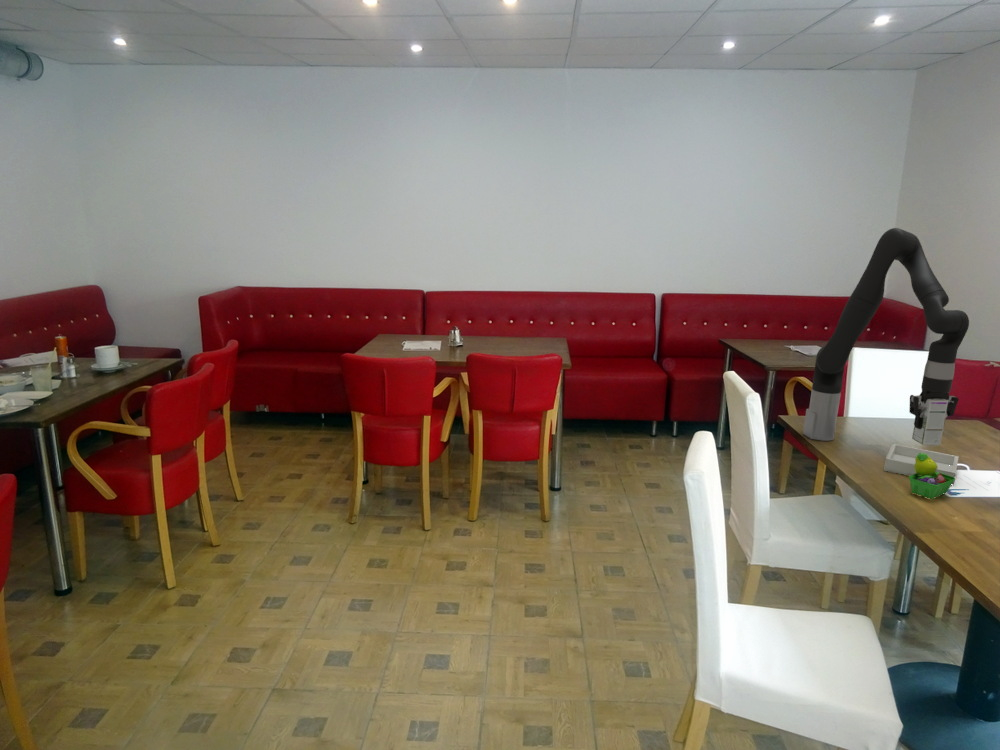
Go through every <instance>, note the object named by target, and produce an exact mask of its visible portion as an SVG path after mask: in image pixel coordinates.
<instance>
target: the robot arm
mask: <svg viewBox="0 0 1000 750" xmlns="http://www.w3.org/2000/svg"><path fill="white" fill-rule="evenodd" d="M894 261H899V262H900V264H901V265H902V266H903V267H904V268H905V270H906V271H907V272H908V275H909V277H910V285H911V288H912V291H913V293H914V295H915V297H916V298H917V300H918V301H919V303H920V305H921V307H922V309H923V314H924V318H925V322H926V326H927V328H928V329H929V330H930V331H931V332H932V333H934V334H937V335H942V336H941V337H940V339H937V340H935V341H932V342H931V343H930V345H929V348H928V354H927V360H926V363H925V366H924V369H923V370H924V372H923V375H922V382H921V392H920V394H919V395H914V394H911V395H910V396H909V413H910V414H911V415H914V417H915V418H914V422H913V424H914V425H913V427H914V426H915V427H916V428H917V429H922V424H923V416H924V414H925V411H926V409H927V407H925V408H924V407H922V406H921V403H920V404H919V402H920V399H921V401H922V403H923V402H924V403H926V401H927V400H928V399H935V398H939V399H945V400H948V405H947V411H946V416H945V420H947V419H946V418H948V417H953V416H954V414H955V411H956V408H957V405H958V402H959V397H957V396H954V395H950V394H949V393H951V390H952V385H953V381H954V376H955V370H956V369H955V365H956V359H957V354H958V350H959V347H960V346H961V344H962V342H963V340H964V338H965V336H966V334H967V332H968V330H969V326H970V320H969V319H970V318H969V316H968V314H967V313H966V312H965V311H963V310H959V309H957V310H956V309H951V310H949V309H947V310H946V309H945V308H944V307H946V306H947V305H948V304H949V301H950V298H949V295H948V293H947V292H946V290H945V289H944V287H943V286H942V284H941V283H940V282H939V280H938V278H937V276H936V275H935V274H934V271H933V270H932V267H931V266H930V264H929V261H928V259H927V256H926V255H925V252H924V248H923V246H922V243H921V241H920V239H919V238H918V236H917V235H916V234H914V233H912V232H909V231H907V230H904V229H902V228H898V227H893V228H890V229H888V230H886V231H885V232H884V233H883V234H882V235H881V237H880V238H879V239H878V241H877V243H876V246H875V248H874V250H873V253H872V255H871V256H870V259H869V262H868V264H867V266H866V268H865V270H864V271H863V273H862V275H861V277H860V279H859V281H858V283H857V284H856V287H855V288H854V289H853V291H852V293H851V295H850V296H849V298H848V299H847V302H846V303H845V306H844V307H843V310H842V312H841V314H840V317H839V320H838V323H837V325H836V327H835V330H834V331H833V334H832V335H831V337H830V338H829V340H828V341H827V342H826V344H825V345H824V346H822V347H821V348H820V349H819V350H818V351H817V352H816V353H817V354H816V357H815V365H814V372H813V379H812V386H811V392H810V393H811V394H810V401H809V406H808V408H806V410H805V417H804V423H803V430H802V434H803V435H804V436H805V437H807V438H809V439H811V440H817V441H824V442H825V441H826V442H829V441H830V442H831V441H833V440H834V438H835V434H836V433H835V432H836V427H837V420H838V414H839V406H840V401H841V394H842V387H843V381H844V379H843V378H844V373H845V372H844V371H845V365H846V364H847V361H848V359H849V357H850V354H851V352H852V350H853V348H854V346H855V344H856V342H857V341H858V339H859V338H860V336H861V335H862V333H863V332H864V331H865V330H866V328H867V327H868V325H869V324H870V322H871V321H872V319H873V317H874V316H875V314H876V313H877V311H878V309H879V308H880V306H881V304H882V302H883V300H884V295H885V284H886V277H887V274H888V272H889V270H890V268H891V267H892V264H893V262H894ZM921 409H922V411H921ZM945 424H946V421H945V422H944V425H945Z"/></svg>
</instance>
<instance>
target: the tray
mask: <svg viewBox="0 0 1000 750" xmlns="http://www.w3.org/2000/svg"><path fill="white" fill-rule="evenodd" d="M919 453H925V454H927V455H928V456H929V457H930V458H931V459H932V460H933V461H934V462H935V463H936V464H937V467H938V468H937V469H936V472H939V473H942V474H945V475H948V476H952V477H954V478H955V479H956V474H957V470H958V469H957V468H958V463H959V455H953V454H948V453H943V452H940V451H932V450H927V449H923V448H917V447H912V446H907V445H902V444H898V443H897V444H896V443H893V444H892V445H891V447H890V449H889V451H888V454H887V455H886V457H885V462H884V467H883V471H884V472H887V471H888V473H892V472H893V474H896V473H898V474H897V475H901V474H904V475H903V476H906V475H910V476H911V475H913V474H916V471H915V468H914V466H915V458H916V457H917V455H918V454H919ZM949 465H950V466H949ZM954 483H955V481H954V482H952V484H953V485H954Z"/></svg>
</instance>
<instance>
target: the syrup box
mask: <svg viewBox="0 0 1000 750" xmlns="http://www.w3.org/2000/svg"><path fill="white" fill-rule="evenodd" d="M920 403H921V406H922V407H924V408H925V407H927V409H926V411H925V414H924V416H923V424H922V429H917V428H916V427H915V426H914V425H913V432H912V435H911V436H912V437H911V438H912V440H913V441H916V442H917V443H919V444H921V445H923V446H941V444H942V438H943V432H944V427H945V424H944V422H945V423H946V419H945V416H946V411H947V405H948V400H945V399H939V398H935V399H928V400H927V401H926V403H924V402H923V403H922V401H921V399H920V402H919V404H920ZM921 411H922V409H921Z"/></svg>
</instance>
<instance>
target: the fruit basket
mask: <svg viewBox="0 0 1000 750" xmlns="http://www.w3.org/2000/svg"><path fill="white" fill-rule="evenodd" d="M914 468H915V471H916V474H913V475H911V476H908V479H909V482H910V487H911V488H910V490H911V494H912V493H916V494H918V495H921V496H924V497H927V498H930V499H932V500H934V499H935V498H934V497H937V496H938V497H940V496H939V495H942V494H943V493H946V492H947V493H948V491H949V489H950V488H951V486H952V485H951V484H952V482H954V483H955V480H956V477H955V478H954V477H952V476H948V475H945V474H942V473H939V472H936V469H937V468H938V467H937V464H936V463H935V462H934V461H933V460H932V459H931V458H930V457H929V456H928V455H927V454H925V453H919V454H918V455H917V457H916V458H915V466H914ZM947 493H946V494H947ZM918 495H917V496H918ZM942 496H943V495H942ZM938 497H937V498H938ZM927 498H926V499H927ZM933 498H934V499H933Z"/></svg>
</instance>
